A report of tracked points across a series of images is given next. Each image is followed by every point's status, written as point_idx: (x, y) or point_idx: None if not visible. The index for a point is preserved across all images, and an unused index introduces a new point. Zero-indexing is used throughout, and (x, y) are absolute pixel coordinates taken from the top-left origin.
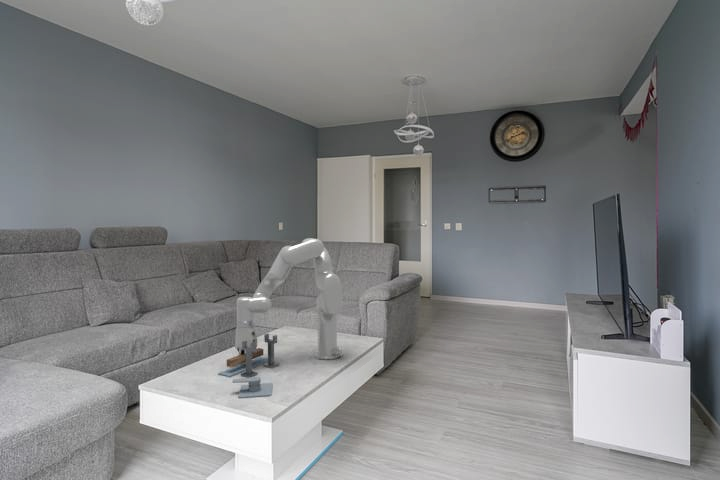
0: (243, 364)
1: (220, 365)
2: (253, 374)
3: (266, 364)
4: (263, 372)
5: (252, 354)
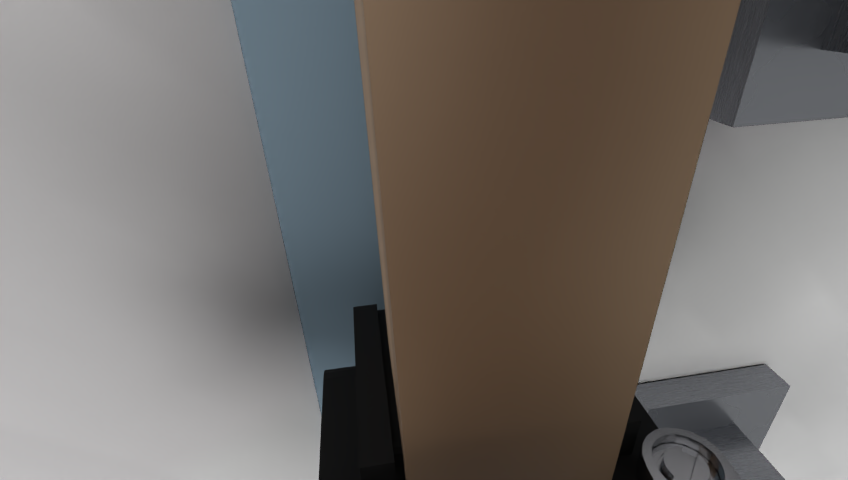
0: (343, 301)
1: (16, 470)
2: (761, 430)
3: (797, 92)
4: (811, 285)
5: (709, 456)
